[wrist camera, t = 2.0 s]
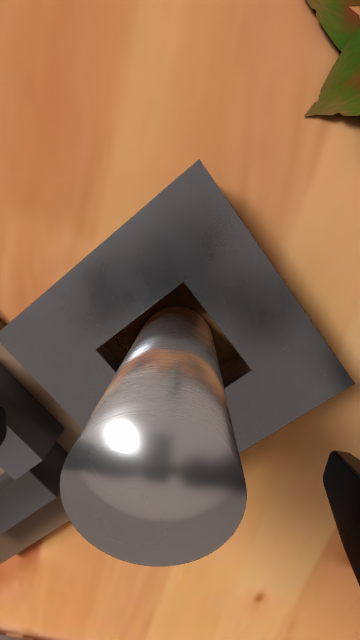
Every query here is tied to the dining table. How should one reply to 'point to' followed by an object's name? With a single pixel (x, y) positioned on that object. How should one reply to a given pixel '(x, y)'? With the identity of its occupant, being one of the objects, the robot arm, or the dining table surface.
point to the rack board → (54, 506)
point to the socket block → (209, 289)
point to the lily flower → (340, 58)
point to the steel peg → (159, 452)
